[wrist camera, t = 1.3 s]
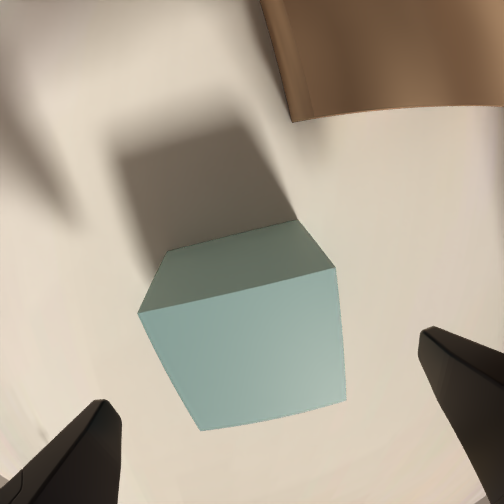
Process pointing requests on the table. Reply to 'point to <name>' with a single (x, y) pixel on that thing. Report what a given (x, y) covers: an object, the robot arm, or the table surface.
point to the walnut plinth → (386, 54)
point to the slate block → (248, 326)
